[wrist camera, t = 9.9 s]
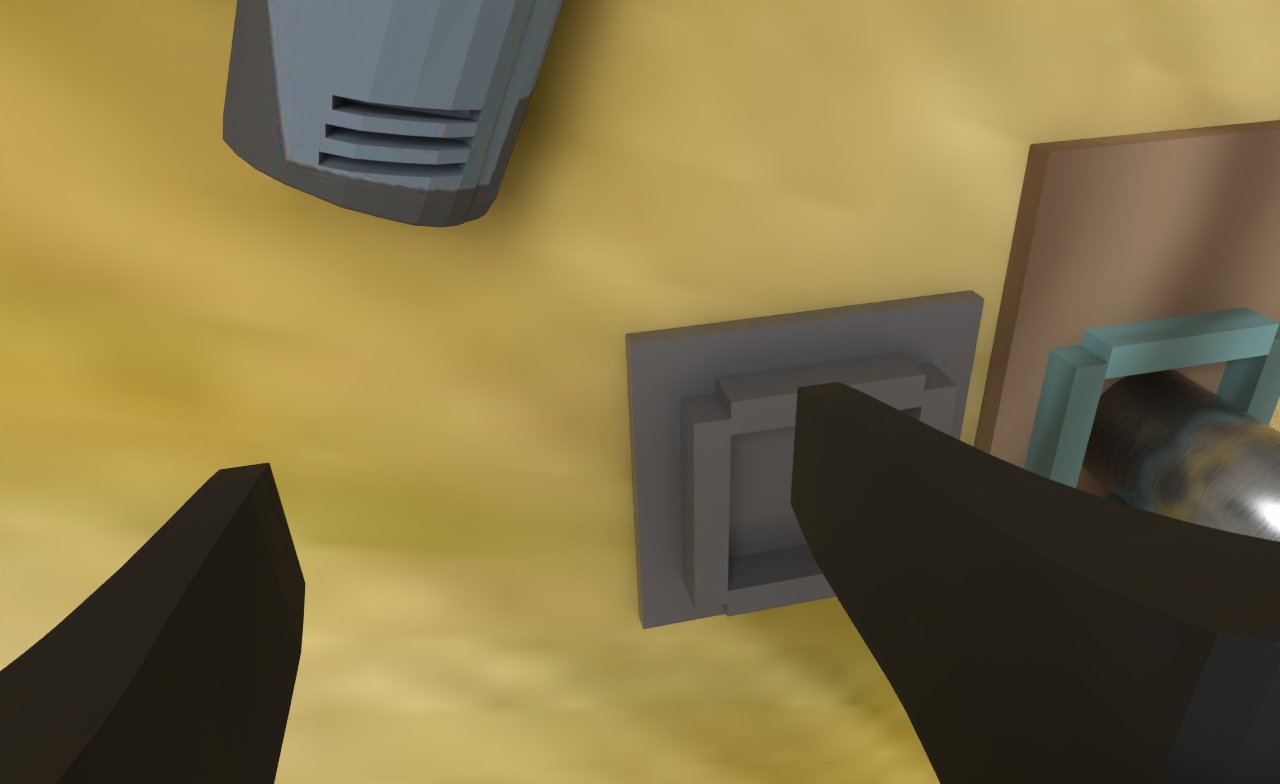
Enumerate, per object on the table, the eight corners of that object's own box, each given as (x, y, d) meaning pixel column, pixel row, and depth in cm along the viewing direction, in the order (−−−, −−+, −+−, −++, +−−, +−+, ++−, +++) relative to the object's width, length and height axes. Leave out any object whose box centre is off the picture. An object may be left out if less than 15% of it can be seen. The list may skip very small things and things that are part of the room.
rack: (1351, 113, 24) (1421, 128, 23) (1177, 595, 33) (1218, 632, 32) (1030, 144, 23) (1080, 164, 21) (937, 642, 32) (967, 685, 30)
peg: (1179, 343, 26) (1404, 469, 20) (1203, 433, 28) (1415, 572, 22) (1062, 414, 26) (1250, 560, 20) (1094, 498, 28) (1274, 653, 22)
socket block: (972, 290, 25) (1013, 319, 23) (926, 563, 29) (957, 603, 28) (625, 334, 23) (642, 368, 21) (639, 615, 28) (652, 662, 26)
